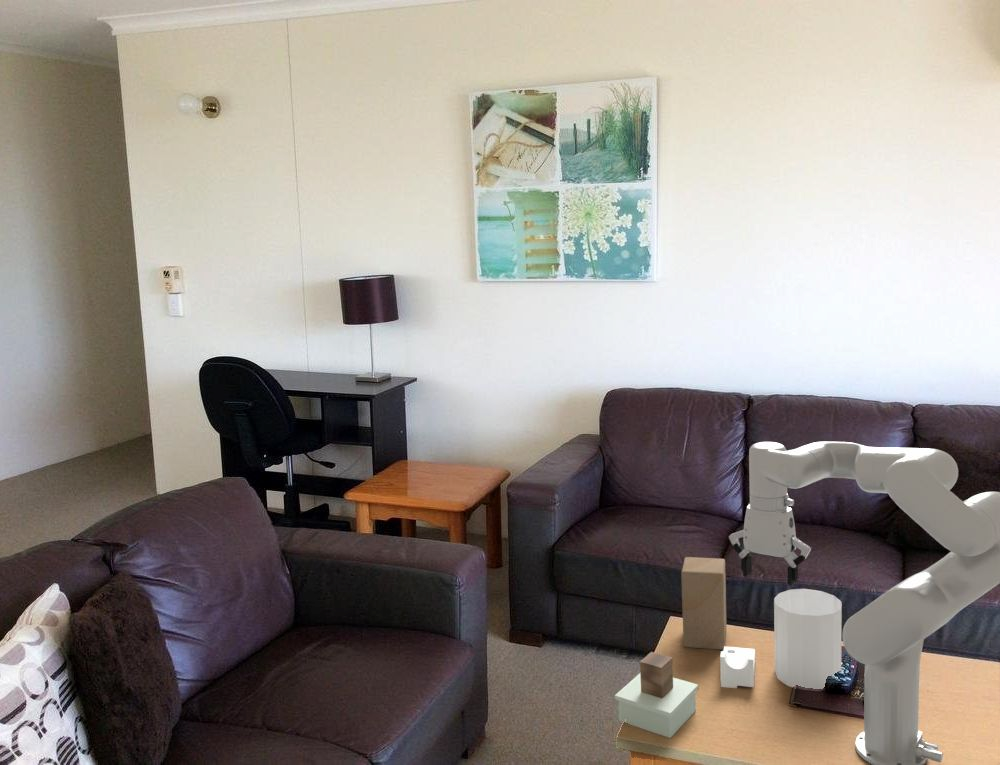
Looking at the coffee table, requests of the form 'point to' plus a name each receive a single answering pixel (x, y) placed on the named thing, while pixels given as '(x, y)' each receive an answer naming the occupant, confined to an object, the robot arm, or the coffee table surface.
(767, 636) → the coffee table surface
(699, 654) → the coffee table surface
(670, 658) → the walnut block
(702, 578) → the wooden block
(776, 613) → the container
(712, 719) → the coffee table surface
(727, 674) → the bracket
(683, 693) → the sage box
